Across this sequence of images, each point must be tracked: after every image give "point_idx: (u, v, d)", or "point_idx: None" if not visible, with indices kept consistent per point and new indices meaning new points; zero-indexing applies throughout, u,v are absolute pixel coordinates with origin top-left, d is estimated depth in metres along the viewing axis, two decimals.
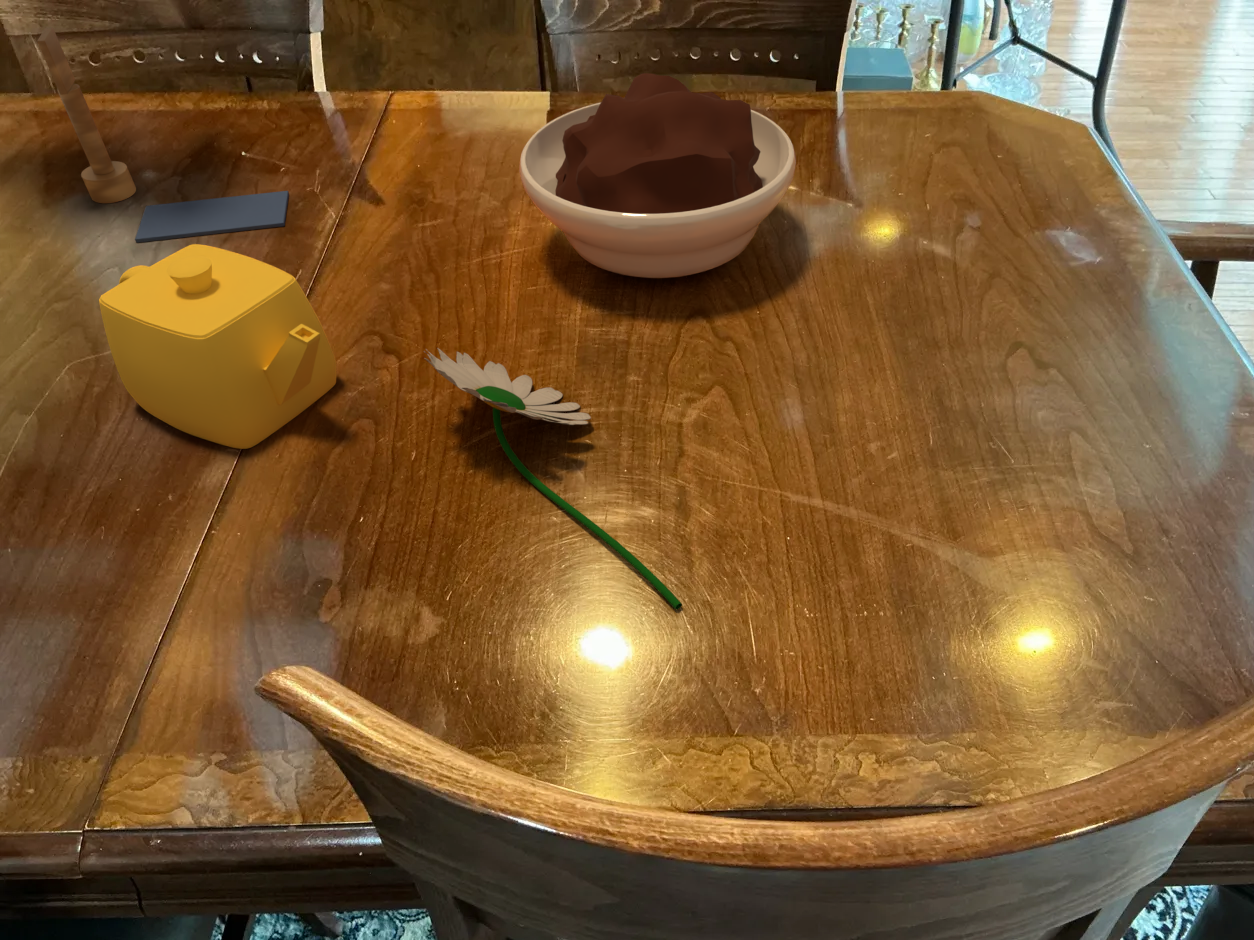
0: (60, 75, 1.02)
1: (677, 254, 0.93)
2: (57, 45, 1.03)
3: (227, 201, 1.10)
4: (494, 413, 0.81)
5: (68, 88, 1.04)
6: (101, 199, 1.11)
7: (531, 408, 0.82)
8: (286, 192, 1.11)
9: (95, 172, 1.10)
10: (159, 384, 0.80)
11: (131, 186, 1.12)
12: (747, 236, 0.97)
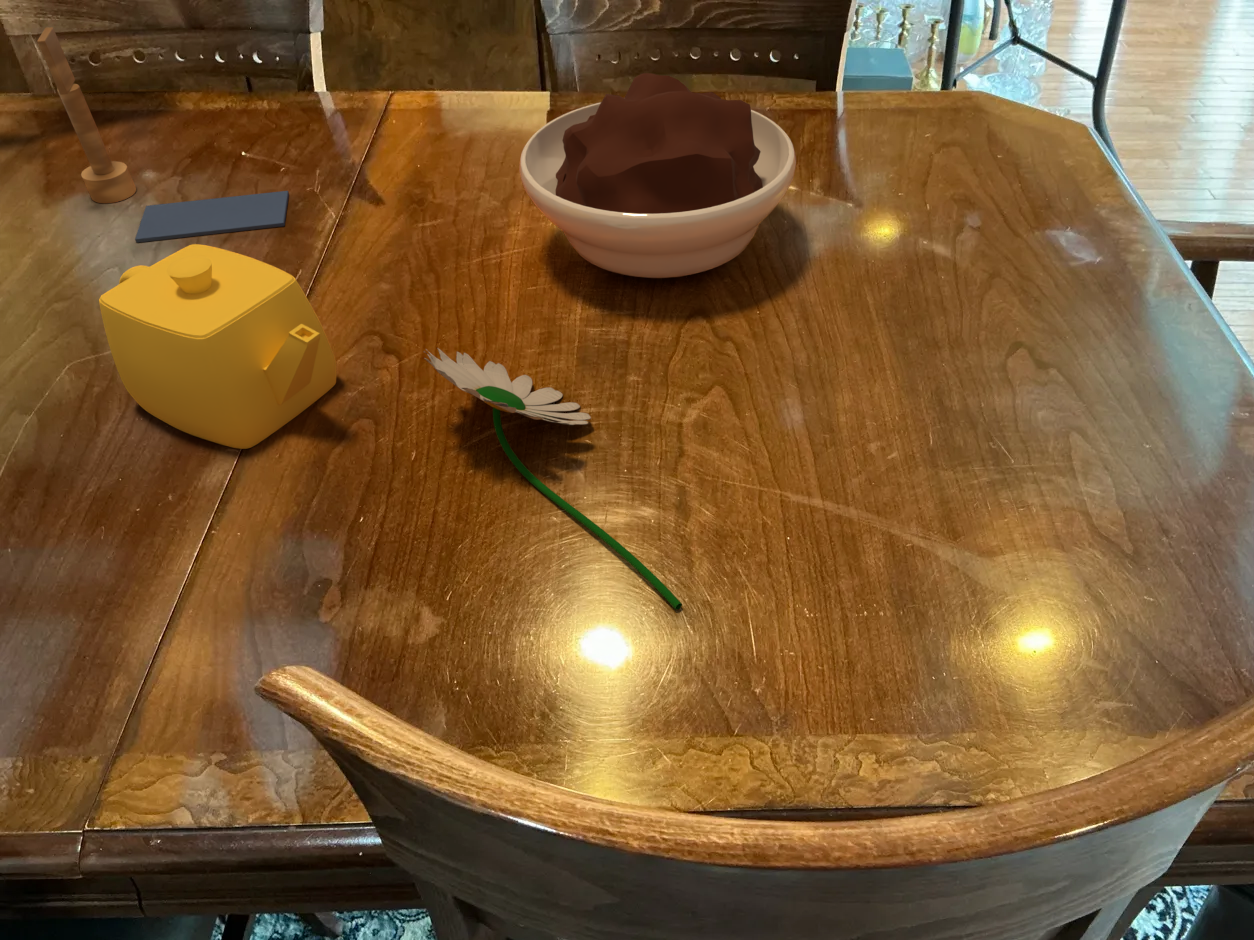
0: (60, 75, 1.02)
1: (677, 254, 0.93)
2: (57, 45, 1.03)
3: (227, 201, 1.10)
4: (494, 413, 0.81)
5: (68, 88, 1.04)
6: (101, 199, 1.11)
7: (531, 408, 0.82)
8: (286, 192, 1.11)
9: (95, 172, 1.10)
10: (159, 384, 0.80)
11: (131, 186, 1.12)
12: (747, 236, 0.97)
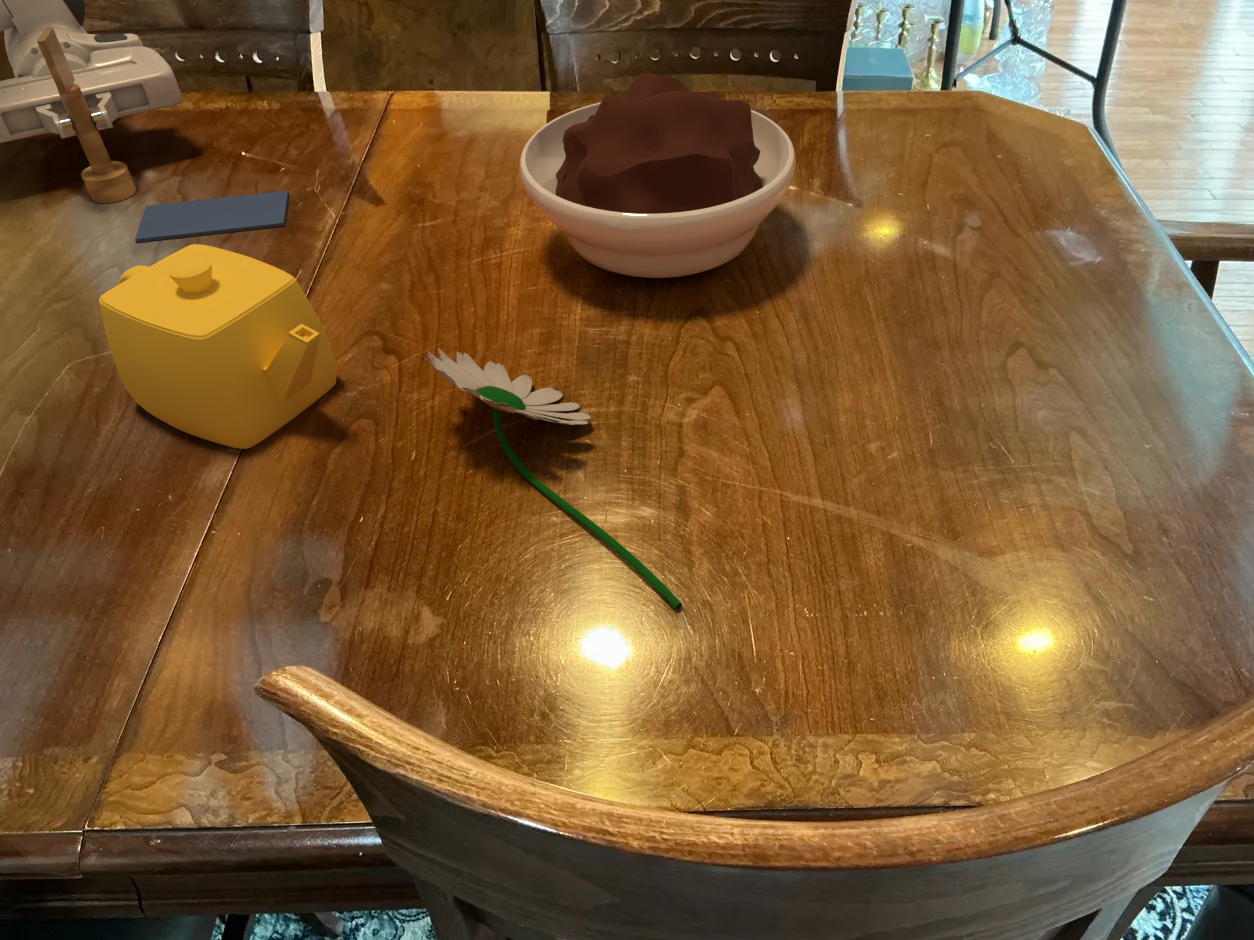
0: (60, 75, 1.02)
1: (677, 254, 0.93)
2: (56, 45, 1.03)
3: (227, 201, 1.10)
4: (494, 413, 0.81)
5: (68, 88, 1.04)
6: (101, 199, 1.11)
7: (531, 408, 0.82)
8: (286, 192, 1.11)
9: (95, 172, 1.10)
10: (159, 384, 0.80)
11: (131, 186, 1.12)
12: (747, 236, 0.97)
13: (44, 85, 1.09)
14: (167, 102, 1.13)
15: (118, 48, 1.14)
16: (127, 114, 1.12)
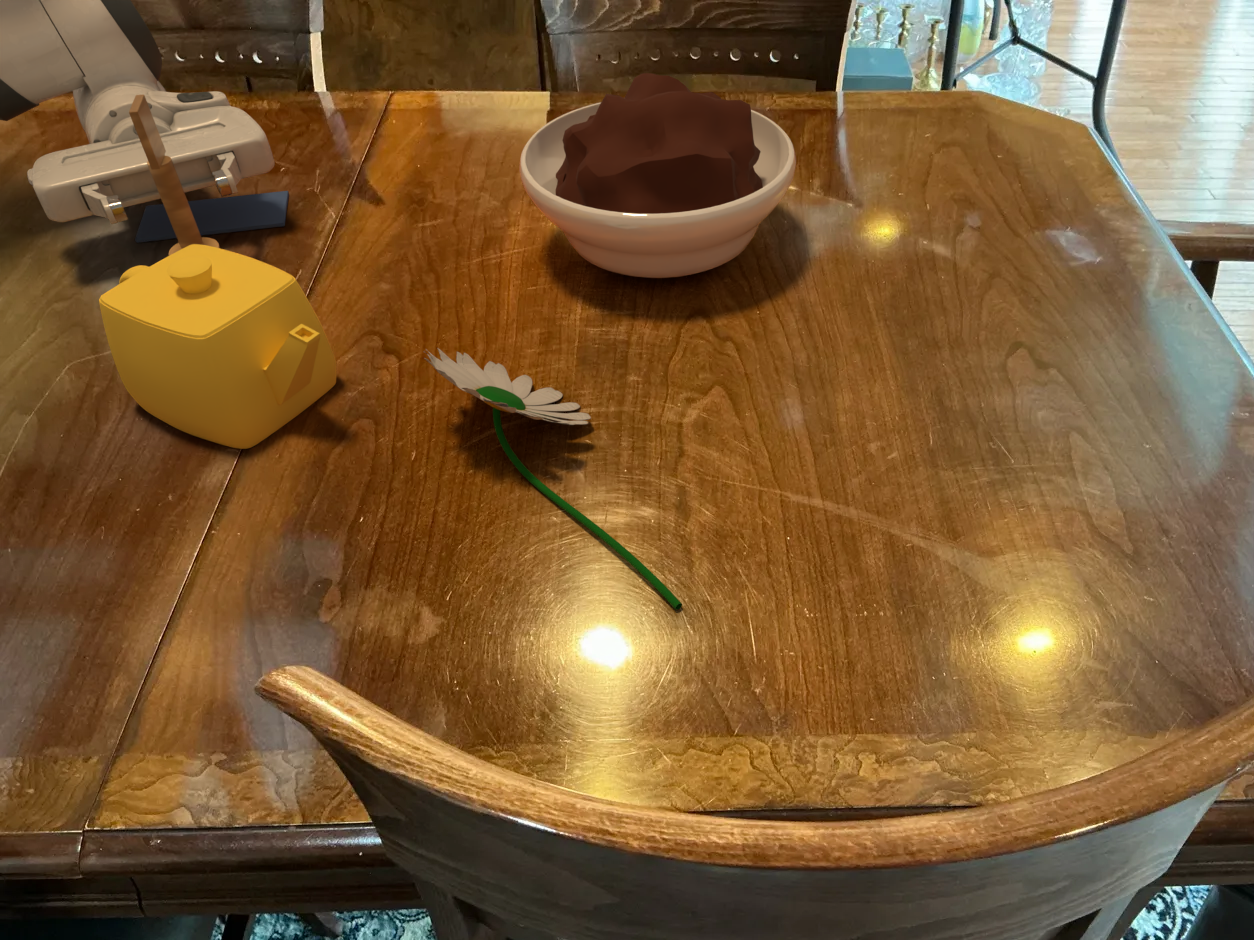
0: (152, 149, 0.91)
1: (677, 254, 0.93)
2: (148, 114, 0.91)
3: (227, 201, 1.10)
4: (494, 413, 0.81)
5: (160, 162, 0.92)
6: None
7: (531, 408, 0.82)
8: (286, 192, 1.11)
9: None
10: (159, 384, 0.80)
11: None
12: (747, 236, 0.97)
13: (125, 153, 0.98)
14: (259, 169, 1.02)
15: (204, 109, 1.02)
16: (215, 183, 1.00)
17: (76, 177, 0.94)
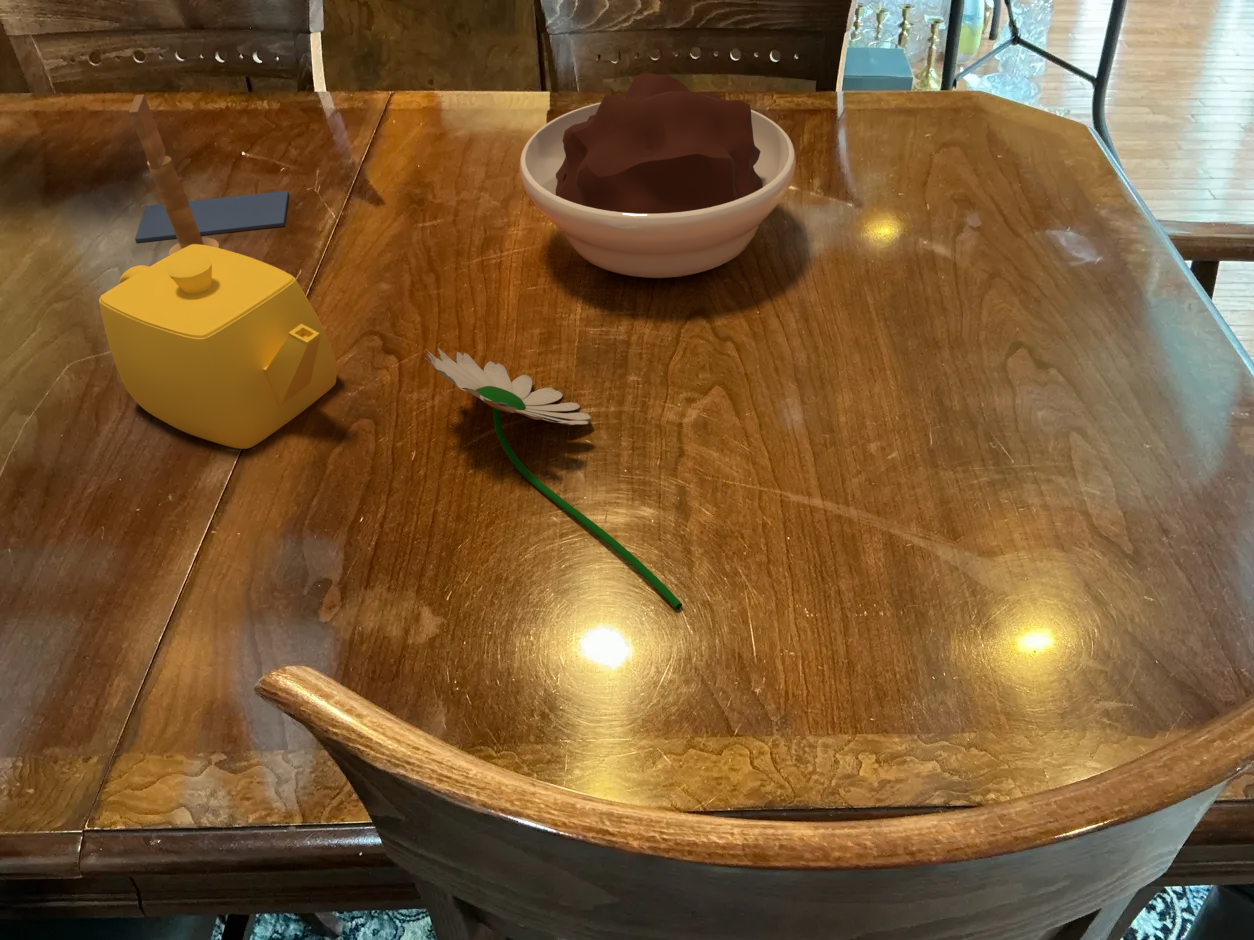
0: (152, 149, 0.91)
1: (677, 254, 0.93)
2: (148, 114, 0.91)
3: (227, 201, 1.10)
4: (494, 413, 0.81)
5: (160, 162, 0.92)
6: None
7: (531, 408, 0.82)
8: (286, 192, 1.11)
9: None
10: (159, 384, 0.80)
11: None
12: (747, 236, 0.97)
13: None
14: None
15: None
16: None
17: None
